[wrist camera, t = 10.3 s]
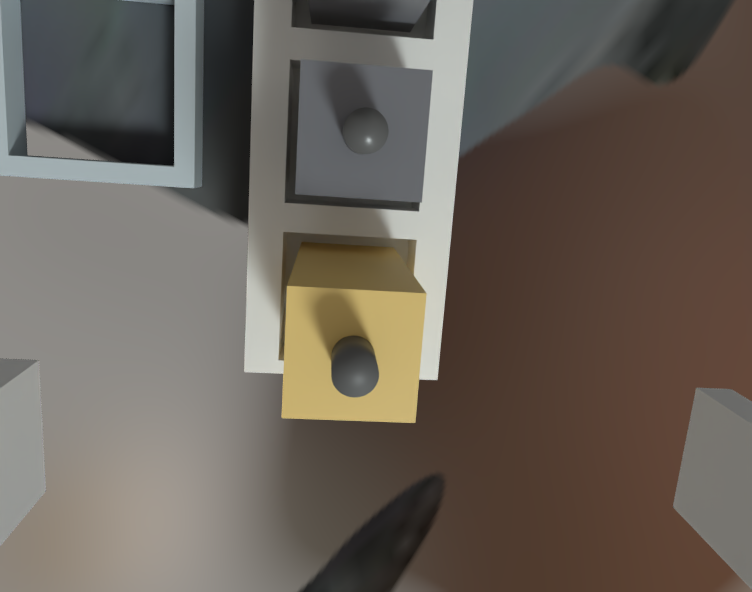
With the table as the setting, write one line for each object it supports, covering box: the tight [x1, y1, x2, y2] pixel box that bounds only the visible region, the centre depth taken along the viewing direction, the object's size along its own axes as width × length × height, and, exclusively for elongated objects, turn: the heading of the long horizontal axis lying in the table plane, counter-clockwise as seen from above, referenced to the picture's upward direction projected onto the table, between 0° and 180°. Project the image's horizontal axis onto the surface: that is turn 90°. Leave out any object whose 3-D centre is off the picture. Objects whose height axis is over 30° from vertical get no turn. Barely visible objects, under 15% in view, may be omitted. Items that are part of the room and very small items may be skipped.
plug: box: [282, 242, 427, 423], centre depth 28 cm, size 5×5×14 cm
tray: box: [0, 0, 204, 188], centre depth 31 cm, size 10×10×2 cm
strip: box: [244, 0, 473, 380], centre depth 28 cm, size 24×10×12 cm, turn 176°
